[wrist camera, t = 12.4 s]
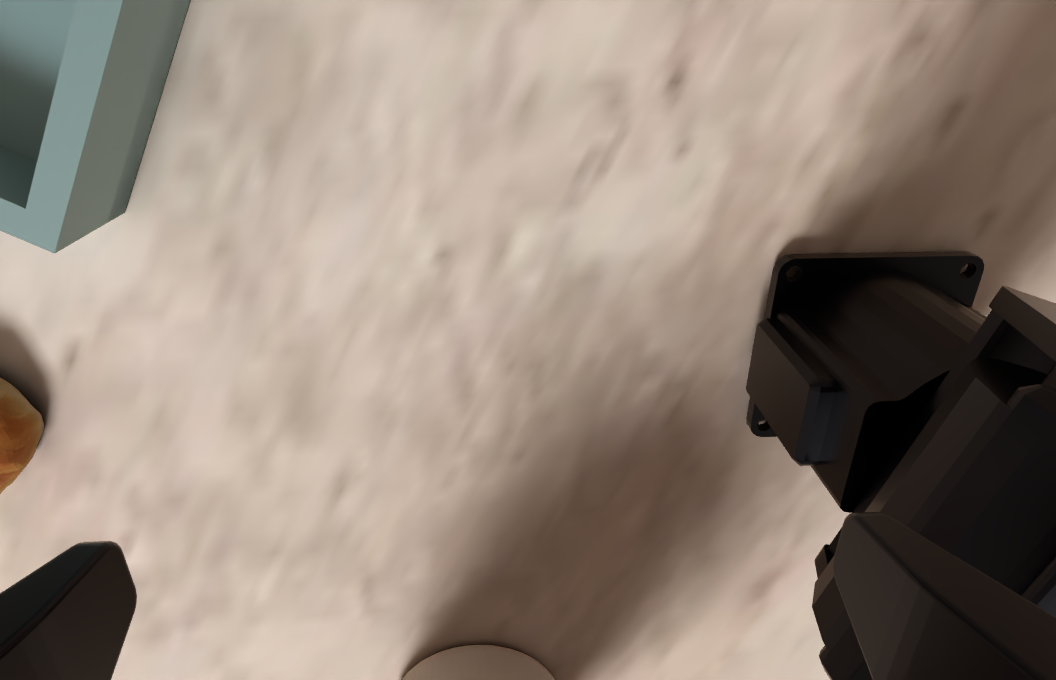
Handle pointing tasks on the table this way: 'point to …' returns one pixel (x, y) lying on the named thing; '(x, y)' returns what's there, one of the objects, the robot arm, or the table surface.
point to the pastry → (16, 433)
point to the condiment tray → (77, 109)
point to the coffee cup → (479, 665)
